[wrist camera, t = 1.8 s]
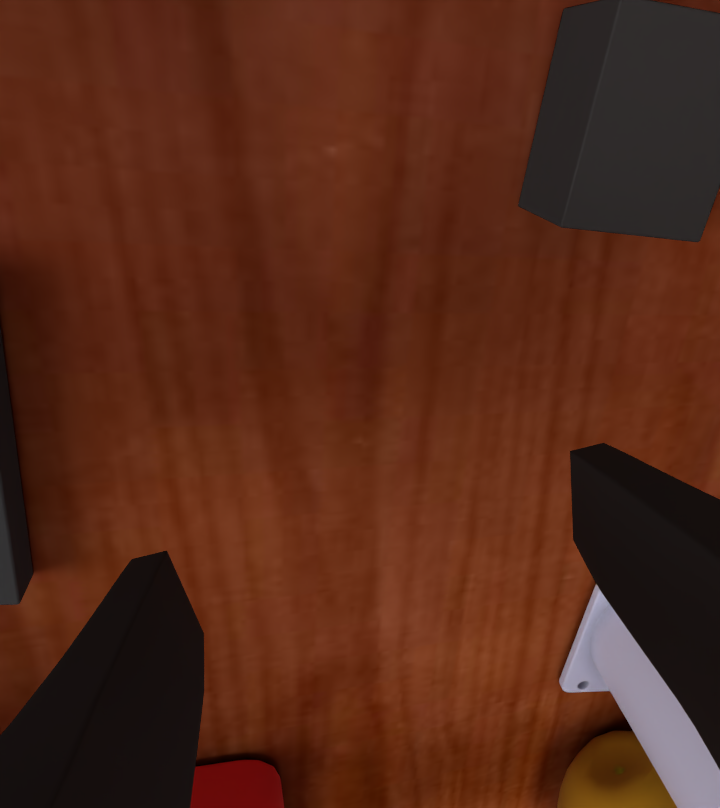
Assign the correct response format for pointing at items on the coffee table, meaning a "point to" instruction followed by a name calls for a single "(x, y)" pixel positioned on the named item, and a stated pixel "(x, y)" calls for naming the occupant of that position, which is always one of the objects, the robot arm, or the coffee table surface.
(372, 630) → the coffee table surface
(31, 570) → the base pad
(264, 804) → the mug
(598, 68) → the dark grey rectangular block
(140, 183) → the coffee table surface
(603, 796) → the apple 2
